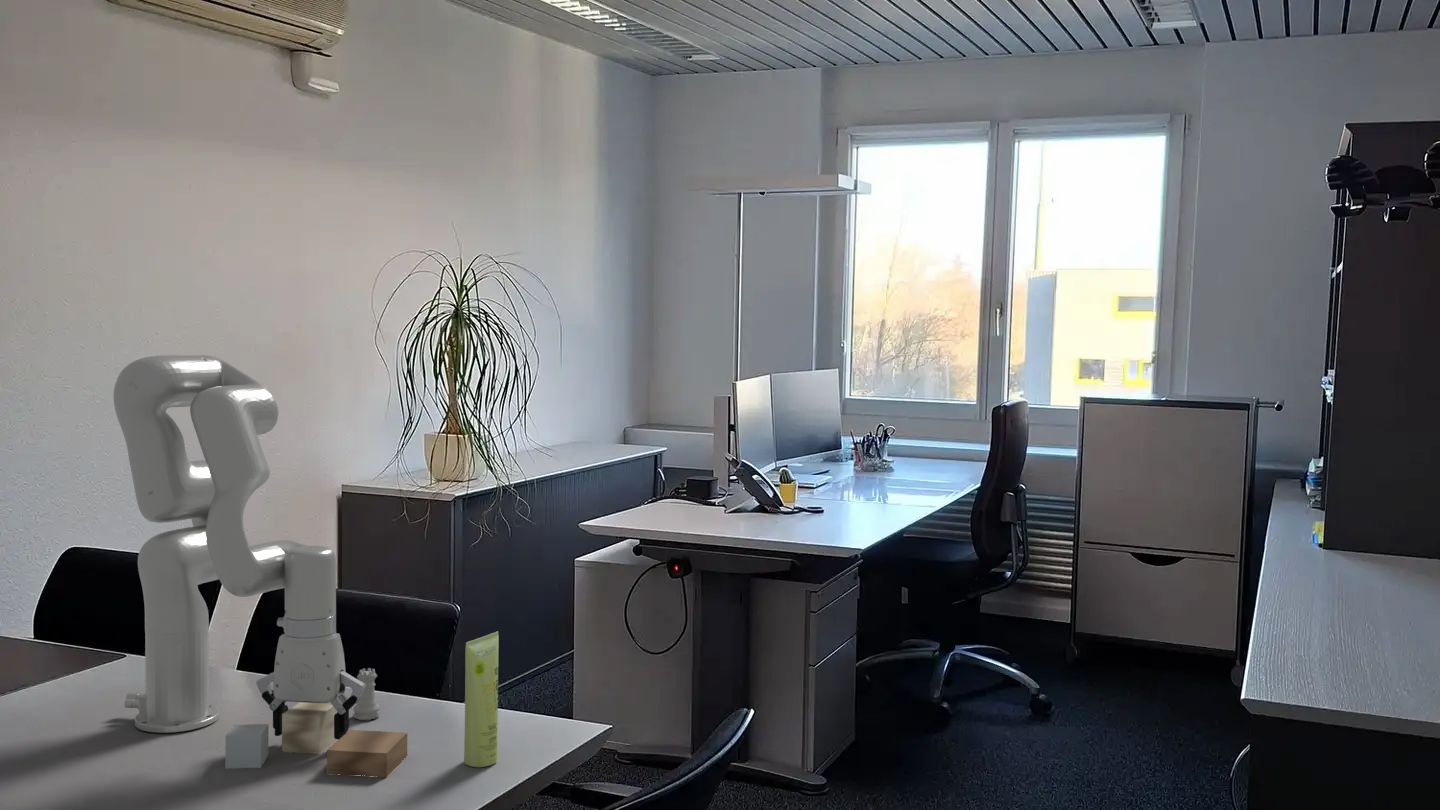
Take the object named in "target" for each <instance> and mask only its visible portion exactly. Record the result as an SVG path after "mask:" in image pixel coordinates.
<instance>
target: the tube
mask: <svg viewBox="0 0 1440 810" xmlns="http://www.w3.org/2000/svg"><path fill="white" fill-rule="evenodd" d="M499 637H500V636H499V631H495V632H492V633H489V634H487V635H484V636H482V637H478V638H476V639H473V640H469V641H467V642H465V648H464V649H465V650H464V651H465V655H464V656H465V659H464V661H465V667H464V668H465V671H464V672H465V673H464V674H465V675H464V676H465V677H464V683H465V684H464V687H465V688H464V740H463V741H464V745H463V746H464V747H463V750H464V751H463V753H464V754H463V761H464V764H465V765H466V766H469V767H472V768H485V767H489V766H492V765H494V764H496V763H497V761H498V731H499V730H498V724H499V723H498V722H499V721H498V719H499V713H498V712H499V710H498V709H499V648H500V647H499V645H500V644H499V640H500V639H499Z"/></svg>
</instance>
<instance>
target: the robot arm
mask: <svg viewBox="0 0 1440 810" xmlns="http://www.w3.org/2000/svg"><path fill="white" fill-rule="evenodd" d="M113 407H114V412H115V415H116V417H117V421H118V423H119V426H120V428H121V431H122V434H123V437H124V441H125V444H126V448H127V449H126V450H127V454H128V456H127V457H128V462H129V466H130V472H131V476H132V482H133V488H134V492H135V499H136V502H137V505H138V509H139V511H140V514H141V516H142V517H143V518H144V519H146V521H148V522H151V523H158V524H160V523H161V524H163V523H165V524H166V523H173V522H179V521H186V520H191V522H192V526H190V527H189V526H188V527H183V528H177V529H172V530H168V531H163V532H160V533H158V534H156V535H153V536H152V537H150V538H149V539H148V540H147V541H145V542H144V544H143V545H142V546H141V547H140V550H139V552H138V555H137V568H138V569H137V571H138V575H139V580H140V584H141V588H142V594H143V595H142V596H143V602H144V603H143V604H144V633H145V635H144V636H145V637H144V639H145V644H144V646H145V647H144V648H145V649H144V650H145V651H144V655H145V656H144V657H145V659H144V662H145V665H144V666H145V668H144V669H145V670H144V673H145V675H144V677H145V679H144V683H145V684H144V685H145V686H144V689H145V691H144V693H141V692H133V691H132V692H128V693H127V694H126V696H125V700H124V708H128V709H137V710H138V714H137V715H136V716H135V717H134V726H135V727H136V728H137V729H139V730H141V731H143V732H144V731H145V732H148V733H156V734H158V733H159V734H161V733H162V734H163V733H164V734H165V733H166V734H167V733H168V734H169V733H180V732H188V731H192V730H197V729H200V728H203V727H204V728H205V727H206V726H210V725H211V724H213V723H215V722H216V721H217V720H218V719H219V717H220V711H219V708H218V707H216V706H214V704H213V705H212V704H210V698H209V697H210V695H209V694H210V693H209V691H210V689H209V688H210V686H209V684H210V683H209V682H210V681H209V680H210V678H209V677H210V674H209V672H210V669H209V668H210V665H209V664H210V662H209V661H210V657H209V656H210V654H209V653H210V650H209V649H210V646H209V645H210V636H209V635H210V632H209V629H210V622H209V621H210V618H209V609H208V606H207V603H206V601H205V599H204V597H203V596H202V594H201V592H200V590H199V585H202V584H204V583H205V584H206V583H209V582H214V581H218V580H219V581H220V584H222V586H223V588H224V589H225V590H226V591H227V592H228V593H230V594H231V595H233V596H236V597H240V598H248V597H252V596H256V595H260V594H264V593H265V594H266V593H268V592H271V591H272V592H273V591H277V590H280V589H284V616H283V617H277V619H276V626H277V627H282V628H283V632H284V633H282V634H281V635H279V638H278V643H277V647H276V653H275V659H274V666H273V667H274V668H273V669H274V670H273V672H270V673H269V674H266V675H265V676H263V677H261V678H259V679H258V680H256V682H255V684H256V686H257V689H258V690H259V693H261V698H262V699H263V701H265V702H266V704H267V705H268V708H269V709H270V711H272V728H273V730H274V736H275V737H279V736H282V714H283V713H285V712H286V711H288V710H289V707H288V705H287V704H286V702H290V703H291V702H292V703H300V702H304V703H320V704H332V705H333V707H334V708H335V709H336V714H335V715H334V738H335V739H336V740H339V739H340V738H341V737H343V736H344V735H345V734H346V733H347V732H348V731H349V728H350V709H352V707H353V706H355V705H356V703H357V701H358V700H359V699H360V696H361V695H362V693H363V691H364V689H365V687H366V685H365V684H364V683H363V682H361V681H360V680H359V679H358V678H357V677H354V676H352V675H351V674H349V673H348V672H346V662H345V652H344V647H343V643H342V638H341V634H340V633H337V559H336V558H337V557H336V553H335V551H334V549H332V548H331V547H328V546H324V545H307V544H303V543H300V542H298V541H294V540H290V539H289V540H288V539H281V540H280V539H279V540H274V541H269V542H264V543H258V544H254V545H250V544H249V541H248V538H247V535H246V532H245V528H244V512H245V508H246V506H247V503H248V500H249V499H250V497H251V496H252V495H253V494H254V492H256V490H258V489H259V488H261V486H263V485H264V484H265V483H266V482H267V481H268V479H269V478H270V473H271V472H270V468H269V465H268V463H267V459H266V456H265V454H264V451H263V448H262V445H261V442H260V440H259V436H260V435H265V434H266V433H269V432H270V431H272V430H273V429H274V427H275V426H276V425H277V423H278V419H279V407H278V404H277V401H276V399H275V397H274V396H273V394H272V393H271V392H270V391H269V390H268V388H266V387H265V386H264V385H263V384H261V383H260V382H258V380H256V379H254V378H253V377H251V376H250V375H248V374H247V373H245V372H243V371H242V370H240V369H238V368H236V367H235V366H234V365H232V364H230V363H228V362H227V361H225V360H223V359H222V358H219V357H216V356H211V355H204V354H203V355H199V354H197V355H195V354H194V355H193V354H192V355H188V354H187V355H181V354H180V355H178V354H177V355H175V354H174V355H173V354H167V355H165V354H164V355H154V356H153V355H152V356H145V357H141V358H139V359H136V360H133V361H132V362H130V363H128V364H127V365H126V366H125V367H124V368H123V369H122V370H121V371H120V373H119V374H118V376H117V378H116V381H115V384H114V388H113ZM187 407H188V408H189V411H190V412H189V413H190V417H191V418H190V419H191V422H192V424H193V428H194V431H195V433H196V436H197V440H198V443H199V446H200V448H201V451H202V455H203V457H204V460H203V459H202V460H201V459H200V460H191V461H190V460H189V459H188V454H187V451H186V447H185V439H184V436H183V434H182V431H181V429H180V428H179V426H178V425H177V423H176V421H175V420H174V419H173V417H172V416H170V415H169V413H167V410H168V409H169V408H170V409H171V408H187ZM271 683H272V684H273V685H272V687H271ZM346 687H347V688H350V689H351V690H352V691H351V692H352V693H351V694H350V696H349V698H348V697H347V695H346V694H345V691H346ZM272 688H273V689H272Z"/></svg>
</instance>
